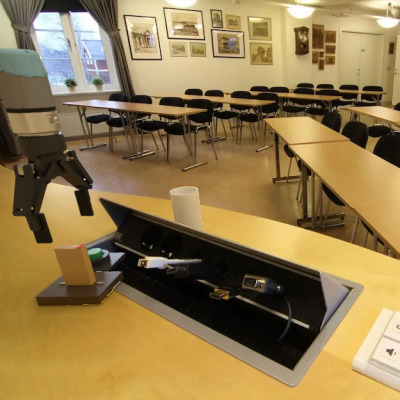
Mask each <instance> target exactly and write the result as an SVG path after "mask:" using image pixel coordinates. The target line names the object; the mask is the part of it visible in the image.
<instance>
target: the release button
mask: <svg viewBox="0 0 400 400" xmlns="http://www.w3.org/2000/svg"><path fill="white" fill-rule="evenodd" d="M102 250H103V249H102V248H100V247H95V248H90V249H87V251H88V254H89V258H90V260H93V259H97V258H99V257H101V256H103V253H102Z"/></svg>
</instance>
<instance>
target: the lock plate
mask: <svg viewBox="0 0 400 400" xmlns="http://www.w3.org/2000/svg"><path fill="white" fill-rule="evenodd" d="M94 275H95V279H96V281H95V282H94V283H93V284H92V285H67V286H66V284H65V281H64V278H63V275H62V274H61V276H59V277H58V278H57V279H55V280H54V281H53V282H52V283H51V284H49V285H48V286H47V287H46V288H44V289H43V290H42V291H41V292H40V293H38V294H37V295H36V296H34V298H35V300H36V304H37V306H39V307H51V306H52V307H54V306H55V307H56V306H57V307H58V306H61V307H62V306H64V307H65V305H70V306H84V305H83V304H101V302H102V301H103V300H104V299H105V298H106V297H107V295H108V294H109V293H110V292H111V291H112V289H113V287H114V286H115V285H116V284H117V283H118V282H119V281H121V280H123V279H124V280H125V278H124V274H123V271H111V272H94ZM124 280H123V281H124ZM101 305H102V304H101Z"/></svg>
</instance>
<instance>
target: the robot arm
mask: <svg viewBox="0 0 400 400" xmlns="http://www.w3.org/2000/svg"><path fill="white" fill-rule="evenodd" d="M0 102H3V106H4V108H5V112H6V115H7V118H8V121H9V124H10V127H11V130H12V132H13V133H14V134H16V137H15V141H16V144H17V147H18V150H19V153H20V154H21V155H23V156H25V158H26V159H27V160H26V161H27V162H26V163H22V164H21V163H19V164H18V163H17V164H14V165H13V166H12V168H13V172H14V187H13V188H14V190H13V203H12V216H13V217H25V219H26V223H27V225H28V229H29V230H30V231H31V232H32V233H33V236H34V239H35V242H36V244H39V245H40V244H45V245H46V244H50V245H51V244H52V243H54V240H53V236H52V233H51V230H50V227H49V224H48V221H47V218H46V215H45V213H44V212H41V209H42V205H43V202H44V199H45V195H46V191H47V188H48V186H49V185H50V184H51V182H52V180H55V179H56V178H58V177H61V178H62V179H63V180H65V181H66V182H67V183H68V184H69V185H71V186H72V187H73V188H74V189H75V190H74V191H73V193H74V197H75V201H76V204H77V207H78V210H79V214H80V217H94V216H95V213H94V209H93V205H92V201H91V195H90V192H89V190H92V189H93V184H94V180H93V178H92V177H91V176H90V174H89V172H88V171H87V169H86V168H85V167H84V165H83V164H82V162H81V161H80V160H79V158H78V156H77V153H76V150H74V149H68V146H67V142H66V138H65V135H64V133H63V132H61V130H62V125H61V121H60V119H59V114H58V112H57V107H56V102H55V100H54V95H53V91H52V87H51V83H50V80H49V76H48V72H47V70H46V68H45V65H44V62H43V58H42V56H41V55H40V53H39V52H37V51H36V50H34V49H28V48H27V49H26V48H9V47H8V48H7V47H0Z"/></svg>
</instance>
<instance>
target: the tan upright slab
mask: <svg viewBox="0 0 400 400" xmlns="http://www.w3.org/2000/svg"><path fill="white" fill-rule="evenodd" d="M53 251H54V254H55V257H56V259H57V263H58V266H59V269H60V272H61V276H62V275H63V278H64V281H65V284H66V286H67V285H92V284H93V283H94V282H95V281H96V279H95V275H94V272H93V268H92V265H91V261H90V258H89V254H88V247H87V245H86V244H83V243H81V244H58V246H56V247H54V248H53Z"/></svg>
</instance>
